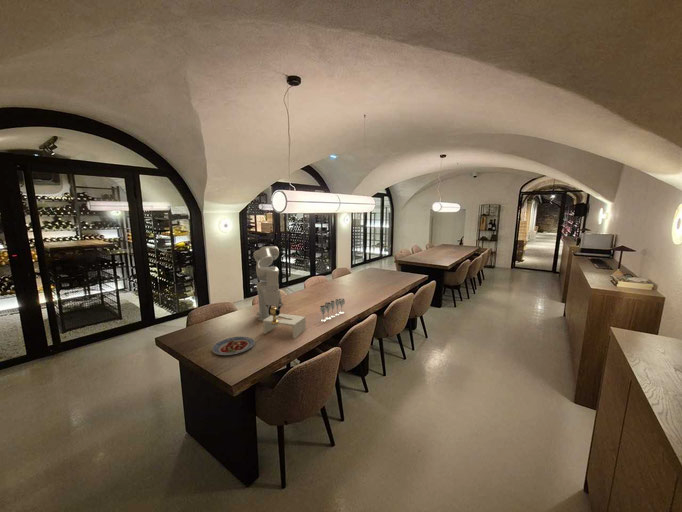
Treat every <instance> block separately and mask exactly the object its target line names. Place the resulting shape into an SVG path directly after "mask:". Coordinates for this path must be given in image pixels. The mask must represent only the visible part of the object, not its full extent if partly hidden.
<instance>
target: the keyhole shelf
mask: <svg viewBox="0 0 682 512" xmlns="http://www.w3.org/2000/svg"><path fill="white" fill-rule="evenodd" d="M279 318H280V319H279ZM276 320H278V324H276V325H272V324H271V321H273V316H272V315H271V316H269V317H268V318H266V319H264V320H263V321H262V327H263V329H262V330H263V334H265V335H266V334H267V333H269V332H270V331H272V330H274V329H275V328H276V327H278V326H279V325H283V326H289V327H292V339H296V338H297V337H298V336H300V335H302V333H303V332H305V331H306V330H307V328H306V326H307V325H306V316H301V315H296V314H295V315H294V314H288V313H287V314H286V313H280V314H279V315H278V316H276Z"/></svg>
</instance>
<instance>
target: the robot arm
mask: <svg viewBox="0 0 682 512" xmlns="http://www.w3.org/2000/svg"><path fill="white" fill-rule="evenodd" d="M279 255H280V251H279V248H278V246H276V245H271V246H270V245H269V246H262V247H260V248H259V249H257V250H255V251H253V258H254V261H255V262H256V265H255V270H256V271H255V273H256V277H257V278H258V280H259V282H257V284H256V290H257V296H258V311H257V312H256V314H255V316H258V317H257V320H258V321H262V322H263V320H264V319H266V318H268V317H269V316H271V315H270V308H272V307H276V309H277V310H276V316H278V315H279V314H281V312H280V311H281V308H282V307H284V306H285V304H284V303H283V302H282V294H281V290H280V289H279V287H280V284H279V274H280V270H279V268H278V267H277V266H271V265H272V264H273V262H274V261H275V260H277V259H278V258H279Z"/></svg>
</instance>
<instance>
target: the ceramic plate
mask: <svg viewBox="0 0 682 512" xmlns="http://www.w3.org/2000/svg"><path fill="white" fill-rule="evenodd" d="M254 344H255V340H254V339H253V338H252V337H249V336H243V335H242V336H232V337H228V338H225V339H222V340H220V341H218V342H216V343H215V344H214V345H213V346H212V348H211V350H212V352H213V353H214V354H216V355H221V356H233V355H238V354H240V353H243V352H246V351H248V350H250V349H252V347H253V346H254Z"/></svg>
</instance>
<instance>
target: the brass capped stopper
mask: <svg viewBox="0 0 682 512" xmlns="http://www.w3.org/2000/svg"><path fill="white" fill-rule="evenodd" d="M276 310H277V309H276V306H271V308H270V315H272V316H273V321H271V324H272V325H276V324H278V320H276ZM278 325H279V324H278Z"/></svg>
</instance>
